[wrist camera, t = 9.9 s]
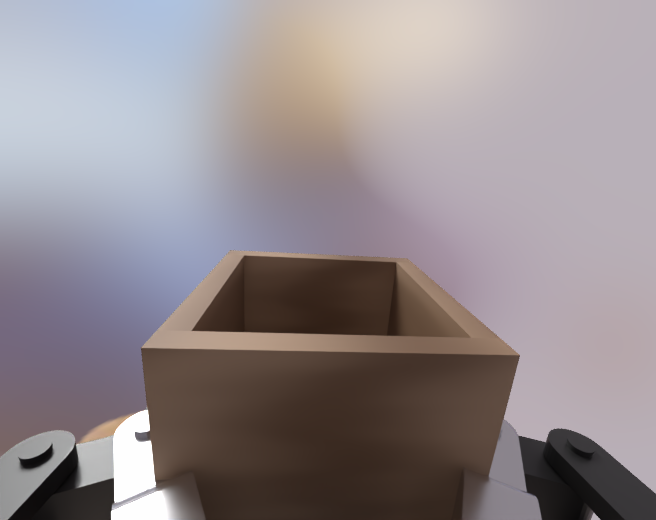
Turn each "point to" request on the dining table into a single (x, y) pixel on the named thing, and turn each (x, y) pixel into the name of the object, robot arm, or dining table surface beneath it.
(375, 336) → the walnut sleeve
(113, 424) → the dining table surface
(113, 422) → the dining table surface
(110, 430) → the dining table surface
